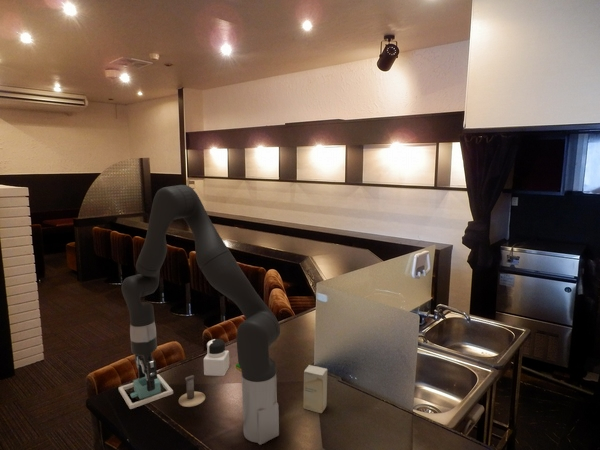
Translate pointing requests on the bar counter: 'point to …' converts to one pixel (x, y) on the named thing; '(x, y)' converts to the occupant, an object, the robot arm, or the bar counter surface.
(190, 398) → the peg stand
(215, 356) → the medicine bottle
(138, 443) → the bar counter surface
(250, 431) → the robot arm
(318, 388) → the skincare box
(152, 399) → the tray
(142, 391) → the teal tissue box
